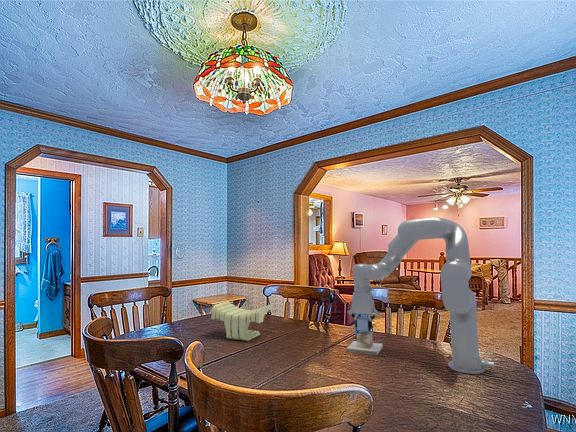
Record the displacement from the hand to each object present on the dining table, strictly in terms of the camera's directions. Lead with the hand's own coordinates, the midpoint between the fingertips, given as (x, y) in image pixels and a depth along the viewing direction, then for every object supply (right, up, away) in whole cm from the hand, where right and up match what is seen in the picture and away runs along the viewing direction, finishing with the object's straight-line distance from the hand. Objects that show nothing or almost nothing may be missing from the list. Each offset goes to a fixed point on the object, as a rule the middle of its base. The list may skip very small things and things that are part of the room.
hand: (363, 328), depth 157 cm
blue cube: (0, -1, 0) cm, 1 cm away
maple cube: (0, -8, -1) cm, 8 cm away
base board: (0, -10, -1) cm, 10 cm away
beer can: (+4, -11, +17) cm, 21 cm away
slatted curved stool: (-61, -14, +26) cm, 68 cm away
